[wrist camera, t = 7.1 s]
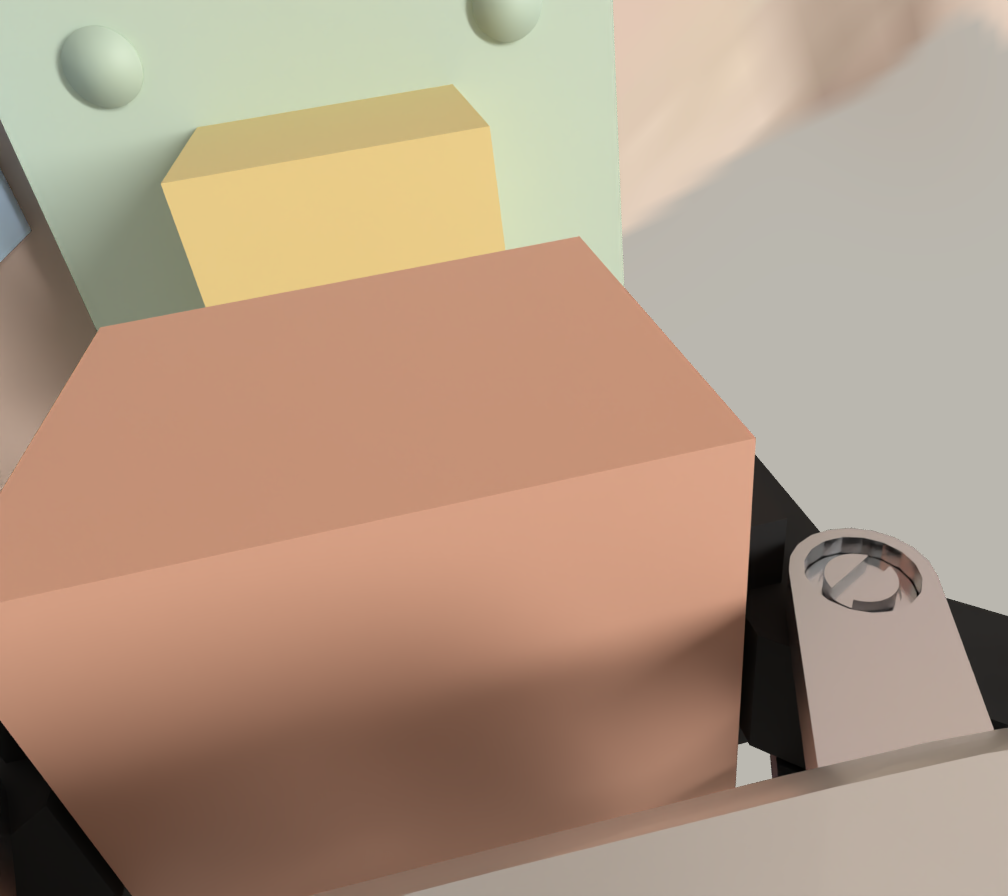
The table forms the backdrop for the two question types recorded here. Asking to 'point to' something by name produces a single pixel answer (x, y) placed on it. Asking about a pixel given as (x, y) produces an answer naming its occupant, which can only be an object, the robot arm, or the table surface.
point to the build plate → (289, 87)
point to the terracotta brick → (376, 576)
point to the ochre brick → (335, 193)
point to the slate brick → (10, 220)
